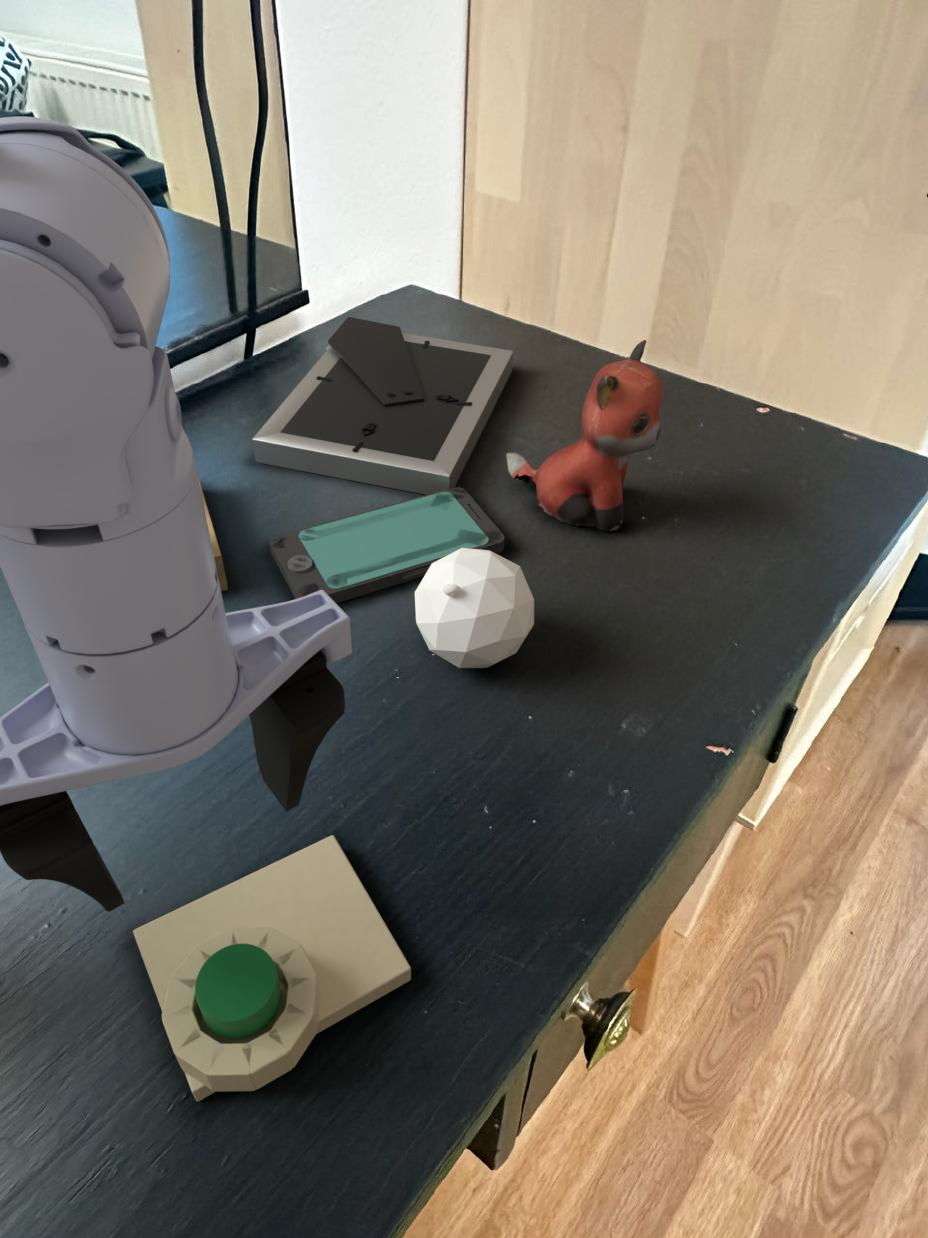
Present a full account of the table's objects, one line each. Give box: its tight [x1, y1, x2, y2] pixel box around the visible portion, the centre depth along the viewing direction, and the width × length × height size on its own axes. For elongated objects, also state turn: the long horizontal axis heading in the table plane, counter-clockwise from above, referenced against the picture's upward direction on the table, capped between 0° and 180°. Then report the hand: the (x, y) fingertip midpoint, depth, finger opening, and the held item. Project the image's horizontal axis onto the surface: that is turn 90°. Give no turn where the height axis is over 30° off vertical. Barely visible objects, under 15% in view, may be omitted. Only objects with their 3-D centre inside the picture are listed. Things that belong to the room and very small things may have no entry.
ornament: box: [414, 548, 535, 669], centre depth 53 cm, size 7×7×8 cm
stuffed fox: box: [506, 339, 663, 532], centre depth 64 cm, size 8×11×12 cm
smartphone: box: [269, 486, 505, 604], centre depth 62 cm, size 7×1×15 cm
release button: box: [195, 944, 281, 1040], centre depth 36 cm, size 3×3×2 cm
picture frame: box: [251, 316, 514, 496], centre depth 75 cm, size 16×3×21 cm
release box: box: [132, 834, 412, 1102], centre depth 39 cm, size 10×9×3 cm
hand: (198, 838), depth 36 cm, fingers open, 7 cm apart
